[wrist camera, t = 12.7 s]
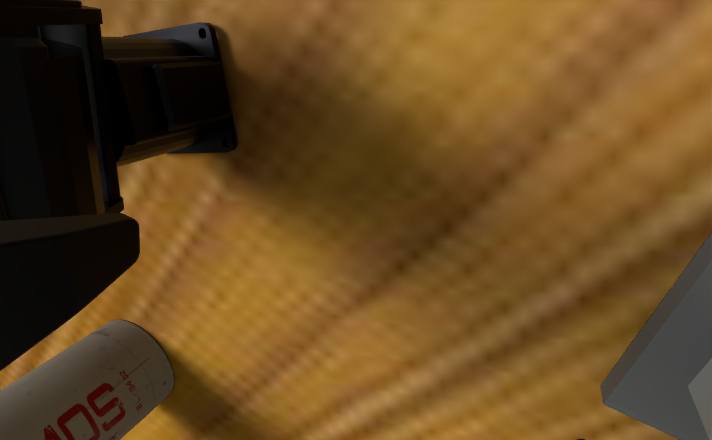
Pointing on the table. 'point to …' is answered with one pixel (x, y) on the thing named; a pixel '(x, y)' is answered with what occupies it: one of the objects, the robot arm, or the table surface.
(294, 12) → the table surface
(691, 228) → the table surface
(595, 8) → the table surface
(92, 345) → the thermos bottle
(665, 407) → the socket
